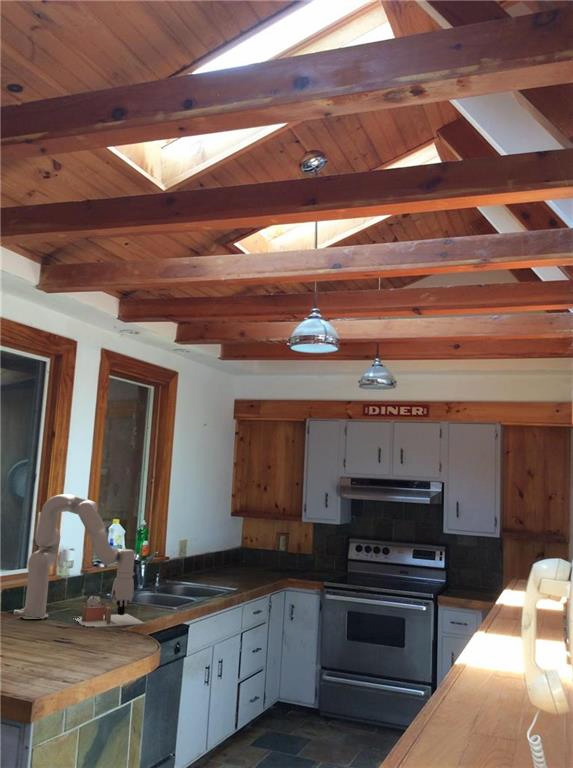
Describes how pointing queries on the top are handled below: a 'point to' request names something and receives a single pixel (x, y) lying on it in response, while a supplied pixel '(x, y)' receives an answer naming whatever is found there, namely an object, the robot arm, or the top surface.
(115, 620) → the card
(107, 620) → the fence panel
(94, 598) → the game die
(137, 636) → the top surface
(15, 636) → the top surface
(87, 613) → the fence fixed
